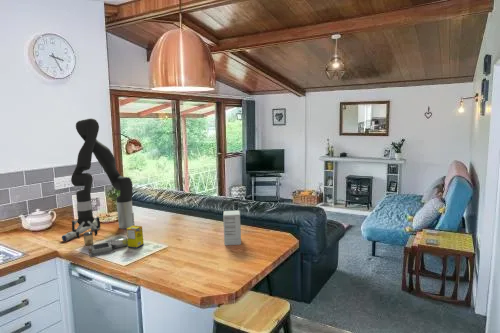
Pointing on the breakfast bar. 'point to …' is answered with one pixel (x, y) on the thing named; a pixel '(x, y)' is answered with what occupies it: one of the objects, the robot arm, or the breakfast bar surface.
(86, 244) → the tan grey cylinder
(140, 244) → the supplement box
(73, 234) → the grey long rod
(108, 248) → the grey slotted holder
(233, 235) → the supplement box
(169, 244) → the breakfast bar surface
